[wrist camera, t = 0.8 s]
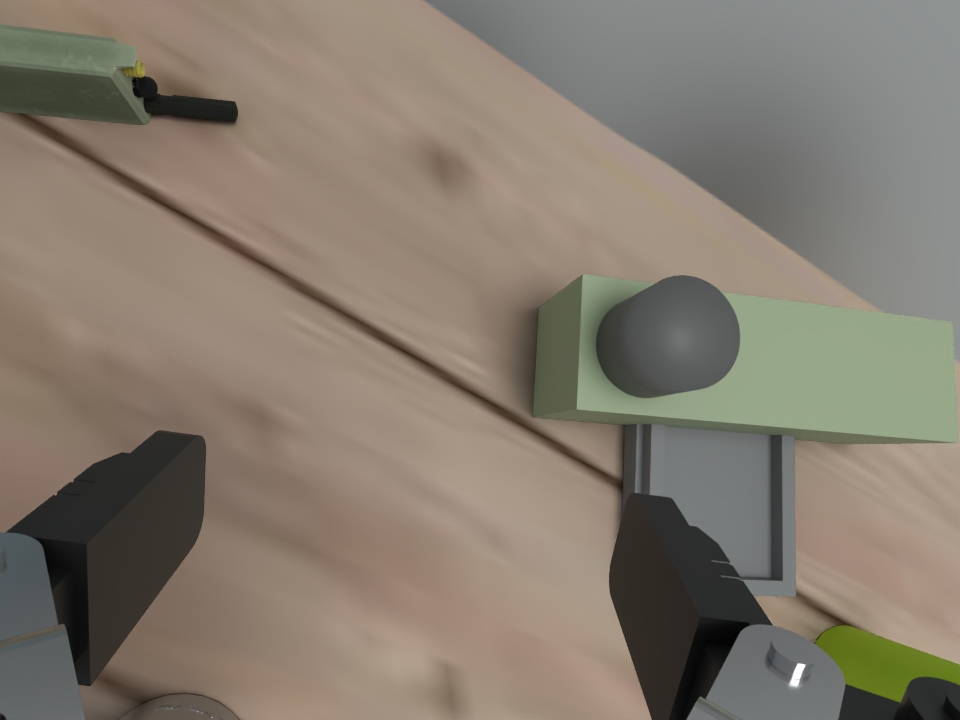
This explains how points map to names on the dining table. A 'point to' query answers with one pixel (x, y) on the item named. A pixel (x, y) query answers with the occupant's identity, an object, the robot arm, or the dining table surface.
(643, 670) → the robot arm
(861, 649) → the soap dispenser
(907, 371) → the green block with tray
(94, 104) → the handheld radio
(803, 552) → the dining table surface
